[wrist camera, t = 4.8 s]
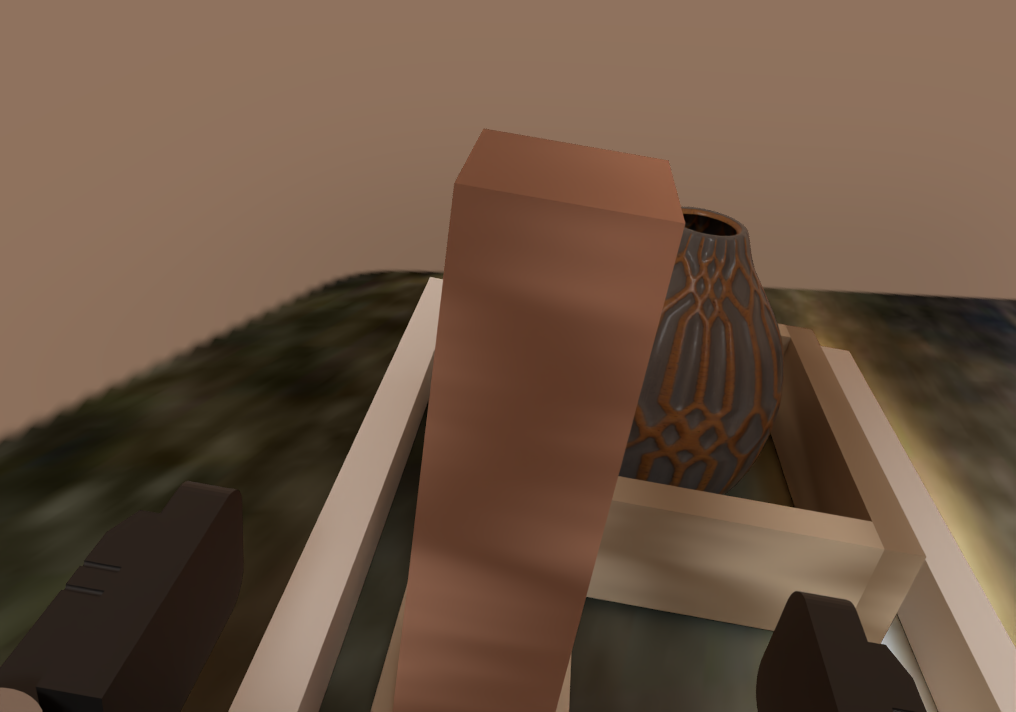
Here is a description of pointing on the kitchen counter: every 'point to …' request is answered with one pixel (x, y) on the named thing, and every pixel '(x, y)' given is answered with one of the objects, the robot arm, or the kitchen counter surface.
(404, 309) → the kitchen counter surface
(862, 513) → the square wooden tray
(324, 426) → the kitchen counter surface
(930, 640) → the rail lane
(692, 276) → the vase
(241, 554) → the robot arm
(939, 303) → the kitchen counter surface
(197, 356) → the kitchen counter surface
